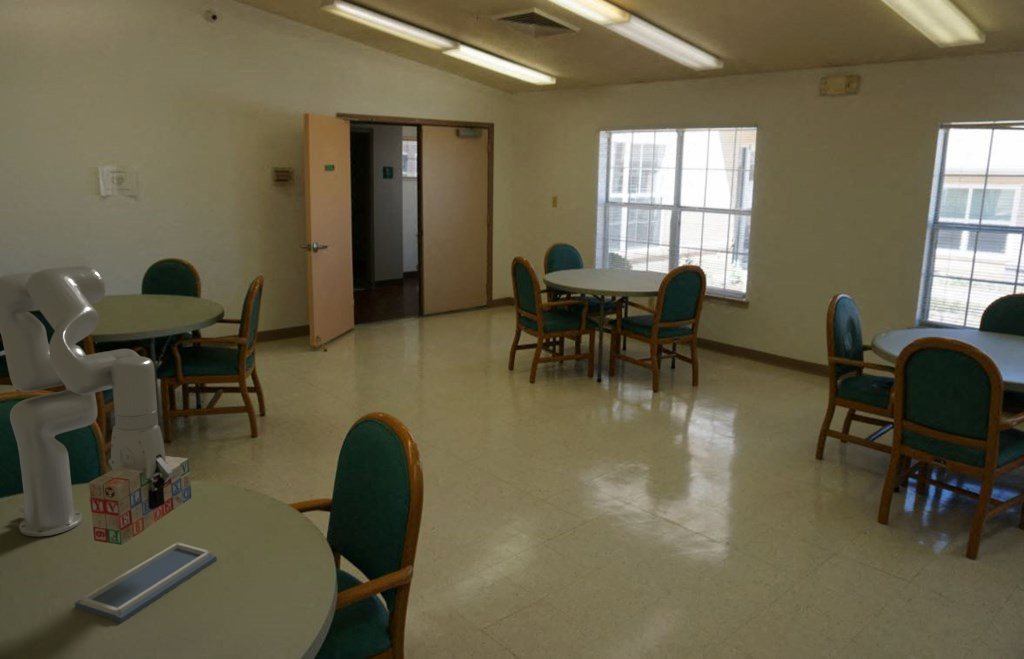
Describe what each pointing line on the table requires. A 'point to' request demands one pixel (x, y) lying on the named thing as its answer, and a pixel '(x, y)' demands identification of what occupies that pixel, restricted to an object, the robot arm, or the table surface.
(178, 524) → the table surface
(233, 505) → the table surface
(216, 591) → the table surface
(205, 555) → the shallow rectangular tray
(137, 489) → the stack of blocks
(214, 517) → the table surface
